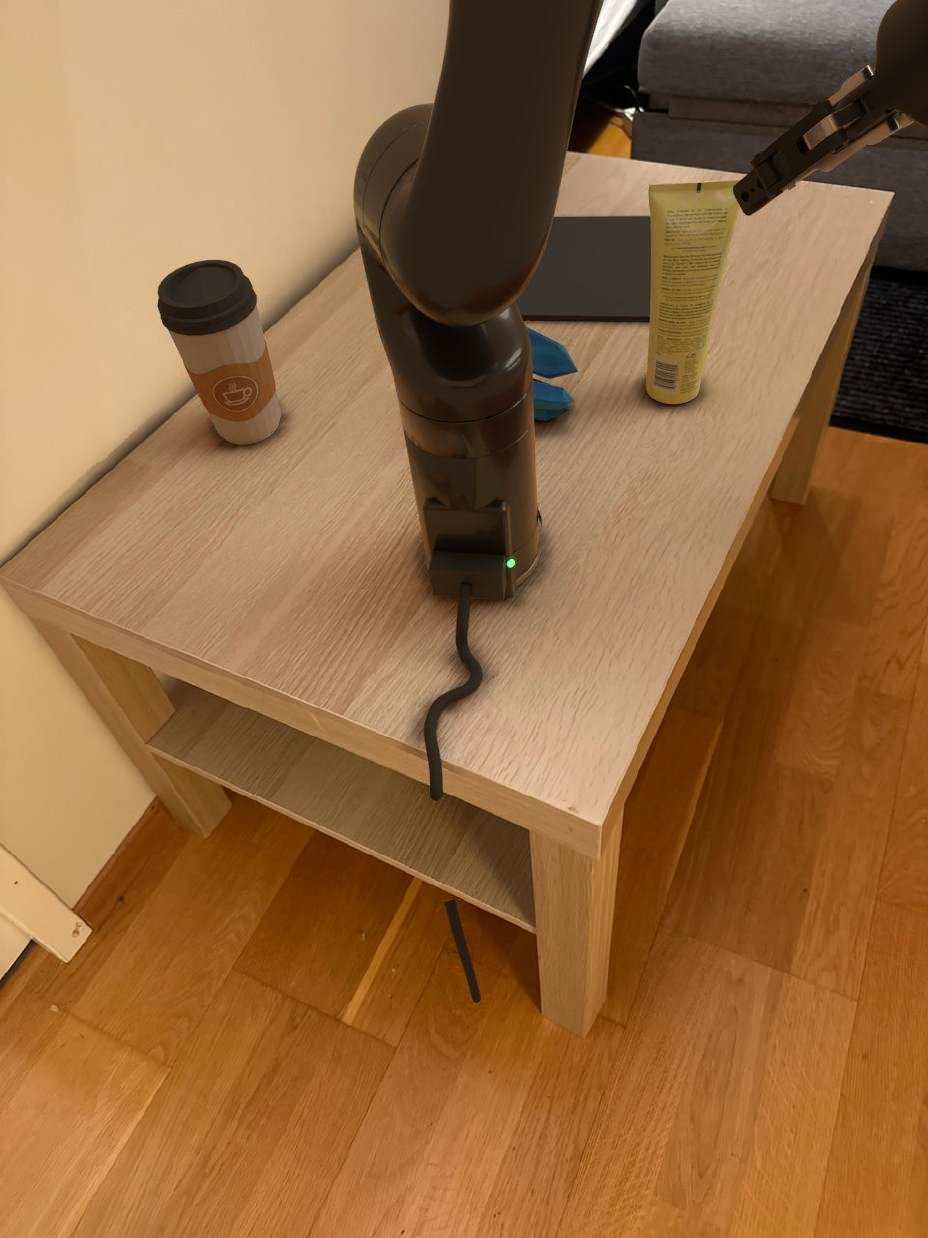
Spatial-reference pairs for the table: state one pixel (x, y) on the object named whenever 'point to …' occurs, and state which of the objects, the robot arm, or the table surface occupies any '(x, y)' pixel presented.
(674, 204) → the tube
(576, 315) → the mat
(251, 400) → the coffee cup
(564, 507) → the table surface
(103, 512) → the table surface
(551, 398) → the crystal
